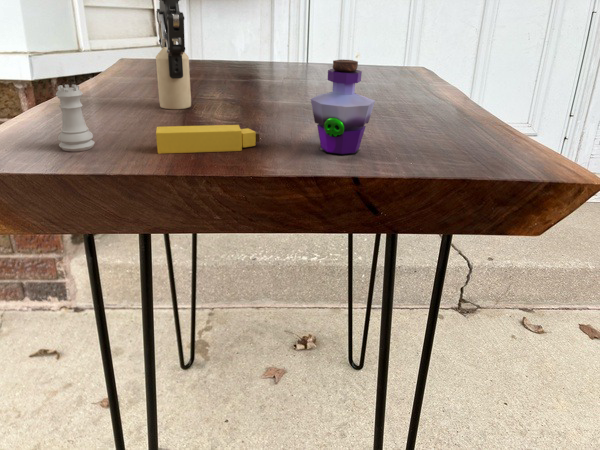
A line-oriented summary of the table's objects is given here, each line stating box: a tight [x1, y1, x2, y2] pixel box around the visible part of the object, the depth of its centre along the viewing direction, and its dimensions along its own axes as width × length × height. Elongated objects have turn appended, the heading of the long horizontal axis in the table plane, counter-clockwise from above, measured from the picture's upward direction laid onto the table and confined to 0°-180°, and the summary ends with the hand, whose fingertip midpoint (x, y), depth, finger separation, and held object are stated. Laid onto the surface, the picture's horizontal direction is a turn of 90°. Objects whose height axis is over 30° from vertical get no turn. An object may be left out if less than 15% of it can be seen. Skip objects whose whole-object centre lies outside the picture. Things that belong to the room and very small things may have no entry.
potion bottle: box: [310, 59, 376, 157], centre depth 71 cm, size 9×9×12 cm
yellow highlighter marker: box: [155, 124, 260, 155], centre depth 71 cm, size 14×4×3 cm, turn 102°
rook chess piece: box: [55, 84, 96, 153], centre depth 68 cm, size 4×4×8 cm
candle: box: [155, 47, 192, 110], centre depth 92 cm, size 6×6×10 cm
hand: (173, 74), depth 92 cm, fingers closed on candle, 5 cm apart
